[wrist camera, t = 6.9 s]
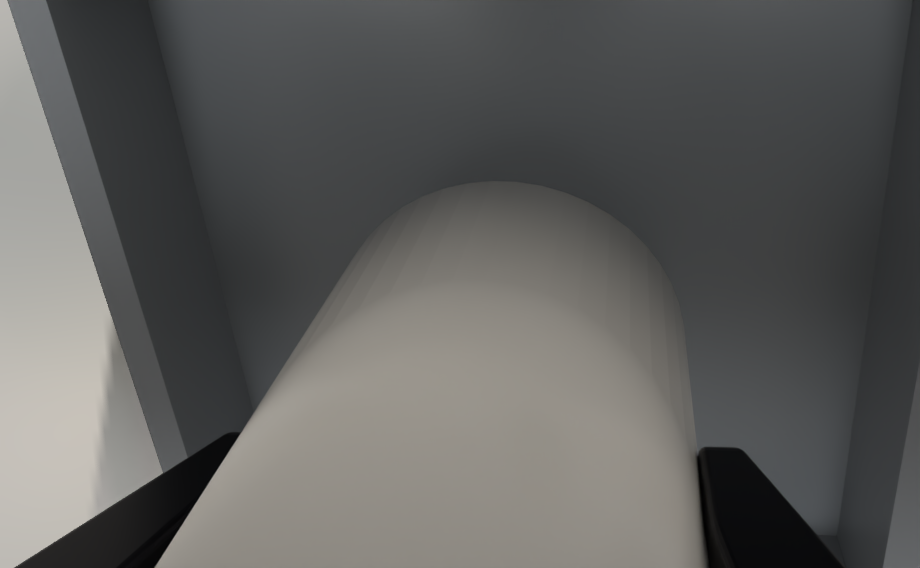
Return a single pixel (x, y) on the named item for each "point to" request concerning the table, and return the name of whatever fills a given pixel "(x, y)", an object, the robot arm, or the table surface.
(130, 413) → the table surface
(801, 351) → the tray
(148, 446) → the table surface
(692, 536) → the cylinder
